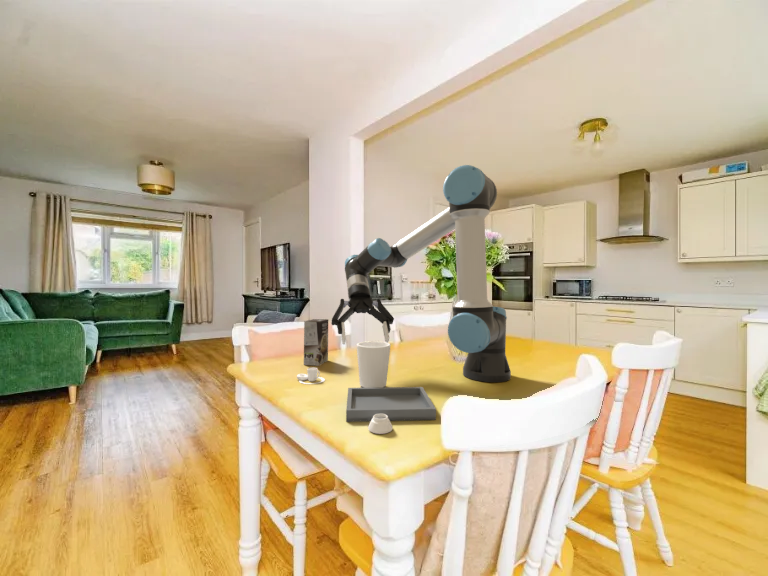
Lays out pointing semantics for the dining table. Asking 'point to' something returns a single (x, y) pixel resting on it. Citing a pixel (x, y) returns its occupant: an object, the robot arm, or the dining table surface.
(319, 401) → the dining table surface
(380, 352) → the cup
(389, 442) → the dining table surface
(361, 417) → the tray
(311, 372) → the teacup and saucer
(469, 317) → the robot arm
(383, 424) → the lidless jar
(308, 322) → the coffee box
